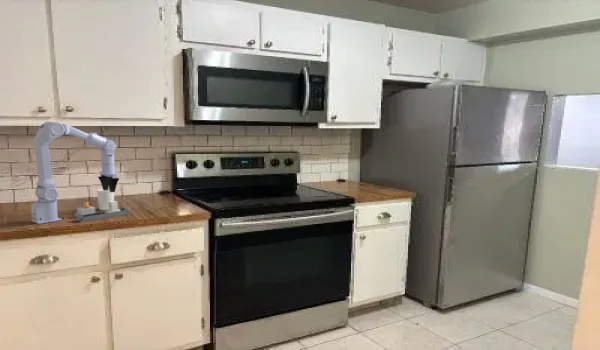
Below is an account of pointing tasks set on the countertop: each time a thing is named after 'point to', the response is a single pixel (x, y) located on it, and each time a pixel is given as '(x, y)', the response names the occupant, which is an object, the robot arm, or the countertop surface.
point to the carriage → (112, 207)
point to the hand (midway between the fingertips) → (109, 191)
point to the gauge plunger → (85, 205)
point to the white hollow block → (86, 210)
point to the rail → (101, 215)
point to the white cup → (104, 198)
